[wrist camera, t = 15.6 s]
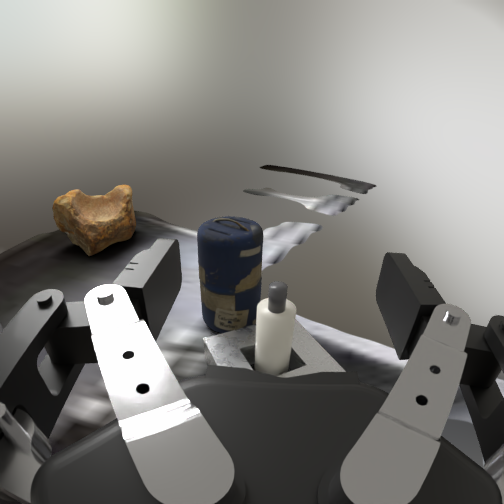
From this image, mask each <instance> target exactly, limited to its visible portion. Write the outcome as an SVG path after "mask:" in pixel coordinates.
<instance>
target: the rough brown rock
mask: <svg viewBox="0 0 504 504" xmlns="http://www.w3.org/2000/svg"><path fill="white" fill-rule="evenodd" d="M53 212H54V219H55V222H56V225H57V227H58V228H59V230H61V231H62V232H65V233H67V235H68V237H69V238H70V240H71V241H72V243H73V244H76V245H77V246H79V245H80V247H81V248H82V249H83V250H84V251H85V253H86V254H87V255H88V256H92V255H94V254H96V253H98V252H100V251H102V250H103V249H105V248H106V247H108V246H109V245H111V244H113V243H116V242H120V241H125V240H128V239H130V238H131V237H132V235H133V233H134V231H135V227H136V220H135V216H134V210H133V205H132V189H131V187H130V186H128V185H119V186H117V187H115V188H114V189H113V190H112V191H111V192H109V193H108V194H106V195H105V196H102V195H101V196H100V195H99V196H87V195H85V194H83V193H82V192H81V191H80V190H72V191H69V192H68V193H67V194H66V195H62V196H60V197H58V198H57V199H56V200H55V201H54V204H53Z"/></svg>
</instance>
